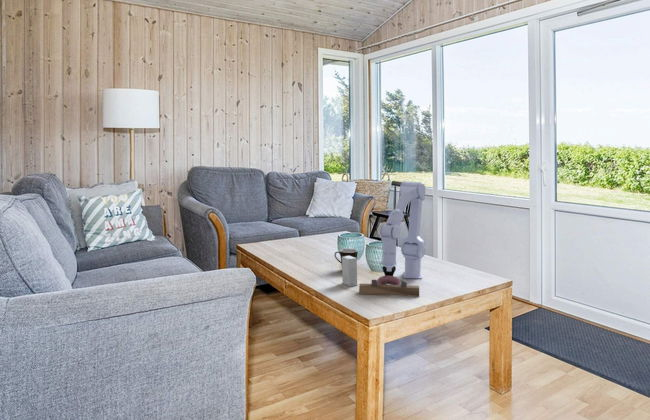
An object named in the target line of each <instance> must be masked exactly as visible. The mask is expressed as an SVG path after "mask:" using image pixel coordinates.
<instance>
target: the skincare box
mask: <svg viewBox="0 0 650 420" xmlns="http://www.w3.org/2000/svg"><path fill="white" fill-rule="evenodd" d="M341 272H342V276H341V277H342V283H343V285H346V286H348V287H355V286H358V257H357V258H355V257H352V256H343V257H342V264H341Z"/></svg>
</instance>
